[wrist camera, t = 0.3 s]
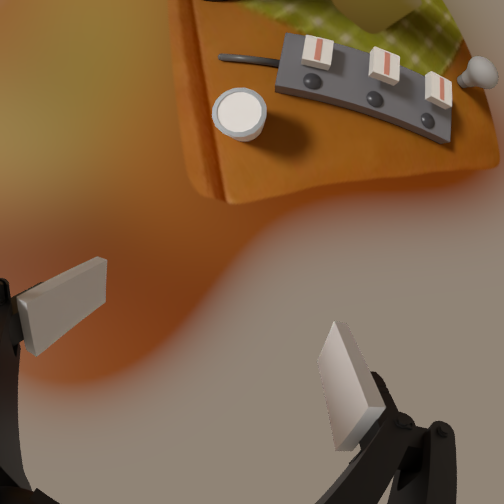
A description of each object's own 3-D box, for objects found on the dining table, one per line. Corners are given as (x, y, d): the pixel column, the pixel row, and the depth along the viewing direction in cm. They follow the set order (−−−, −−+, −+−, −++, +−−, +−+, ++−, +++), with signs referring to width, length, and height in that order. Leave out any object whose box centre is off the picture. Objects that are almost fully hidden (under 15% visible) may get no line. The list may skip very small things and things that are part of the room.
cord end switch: (304, 40, 30) (306, 34, 28) (331, 47, 30) (333, 40, 28) (300, 64, 31) (302, 58, 29) (328, 70, 31) (330, 65, 29)
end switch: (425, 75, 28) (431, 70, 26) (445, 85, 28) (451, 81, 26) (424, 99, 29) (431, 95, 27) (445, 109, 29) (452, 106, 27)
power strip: (225, 35, 33) (221, 25, 30) (442, 94, 32) (452, 90, 29) (211, 84, 36) (207, 76, 33) (440, 143, 35) (450, 141, 32)
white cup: (277, 129, 37) (277, 118, 30) (237, 154, 38) (230, 147, 31) (251, 95, 36) (247, 78, 29) (213, 119, 37) (201, 106, 30)
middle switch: (370, 52, 28) (374, 46, 26) (394, 61, 28) (399, 56, 26) (368, 76, 29) (373, 71, 27) (393, 85, 29) (399, 81, 27)
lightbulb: (443, 78, 31) (476, 60, 21) (454, 64, 30) (485, 46, 19) (464, 103, 32) (499, 91, 21) (474, 88, 31) (507, 75, 20)
